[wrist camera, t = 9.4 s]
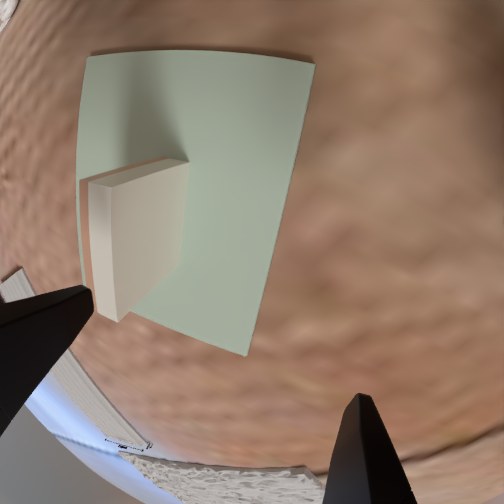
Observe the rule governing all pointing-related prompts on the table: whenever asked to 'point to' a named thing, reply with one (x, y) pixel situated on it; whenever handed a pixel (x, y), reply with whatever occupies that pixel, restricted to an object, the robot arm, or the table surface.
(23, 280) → the baseboard
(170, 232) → the tile
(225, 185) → the mat
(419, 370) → the table surface
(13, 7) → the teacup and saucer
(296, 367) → the table surface
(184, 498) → the carpet tile
